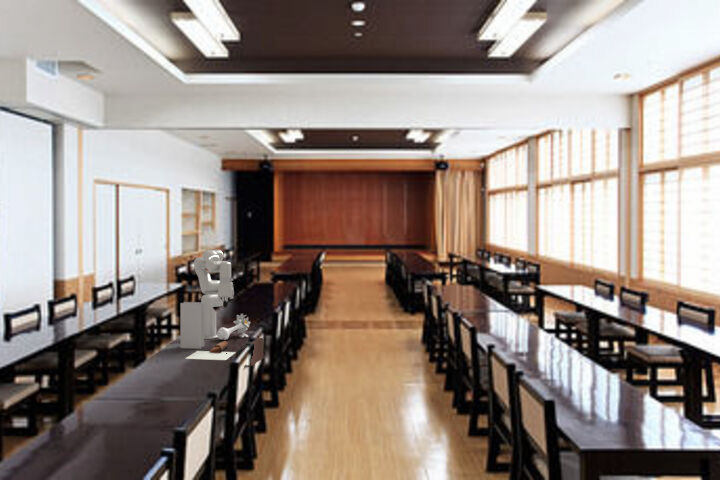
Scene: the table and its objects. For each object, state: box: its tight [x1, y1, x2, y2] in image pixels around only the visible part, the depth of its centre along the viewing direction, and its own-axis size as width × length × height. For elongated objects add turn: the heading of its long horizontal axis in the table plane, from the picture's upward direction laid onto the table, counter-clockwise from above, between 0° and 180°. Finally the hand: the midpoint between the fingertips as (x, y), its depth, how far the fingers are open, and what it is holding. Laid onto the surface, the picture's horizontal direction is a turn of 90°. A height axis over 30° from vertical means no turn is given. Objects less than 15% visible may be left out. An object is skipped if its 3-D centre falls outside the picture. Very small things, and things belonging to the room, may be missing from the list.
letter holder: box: [235, 337, 265, 367], centre depth 338 cm, size 10×20×14 cm, turn 168°
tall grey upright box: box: [179, 301, 205, 350], centre depth 372 cm, size 14×6×30 cm, turn 84°
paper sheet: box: [184, 350, 237, 361], centre depth 352 cm, size 20×26×1 cm
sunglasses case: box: [208, 340, 229, 353], centre depth 367 cm, size 18×7×7 cm
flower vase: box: [216, 313, 251, 341], centre depth 402 cm, size 13×18×25 cm
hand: (225, 307), depth 377 cm, fingers closed
